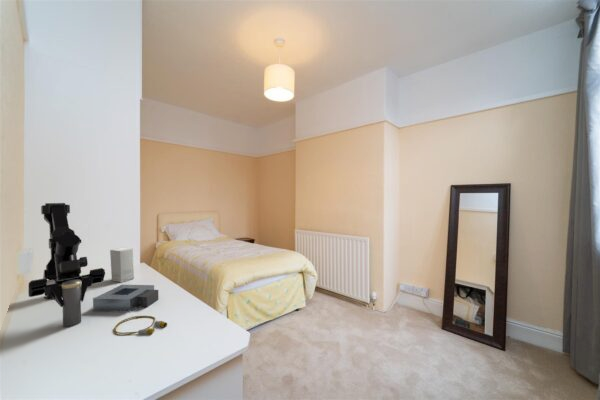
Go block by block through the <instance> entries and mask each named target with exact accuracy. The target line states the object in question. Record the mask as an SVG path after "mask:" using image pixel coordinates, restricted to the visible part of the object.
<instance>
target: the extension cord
mask: <svg viewBox="0 0 600 400" xmlns="http://www.w3.org/2000/svg"><path fill="white" fill-rule="evenodd" d="M141 318H142V319H143V318H147V319H153V321H152V323H151V325H149V326H147V327H145V328H142V329H139V330H138V331H129V332H128V331H127V332H121V331H120V332H119V331H117V328H118V327H119V326H120V325H121V324H123V323H125V322H128V321H131V320H134V319H141ZM153 325H155V326H157V327H158V328H163V329H165V327H167V326H168V323H167V322H165V321H163V320H156V317H155V316H152V315H136V316H131V317H128V318H125V319H123V320H121V321H119V322H118V323H116V325H115V326H114V329H113V331H114V333H115V335H117V336H128V335H132V334H138V335H153V334H154V332H155V331H156V330H155V328H153V327H152V326H153ZM151 327H152V328H151Z"/></svg>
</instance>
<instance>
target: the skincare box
mask: <svg viewBox="0 0 600 400" xmlns="http://www.w3.org/2000/svg"><path fill="white" fill-rule="evenodd" d="M133 250H134V249H133V248H132V247H123V246H122V247H119V248H112V249H110V250H109V251H110V252H109V254H110V272H111V273H110V274H111V281H113V282H118V283H124V282H128V281H131V280H134V279H135V272H134V271H135V270H134V269H135V268H134V251H133Z"/></svg>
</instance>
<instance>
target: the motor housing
mask: <svg viewBox="0 0 600 400" xmlns="http://www.w3.org/2000/svg"><path fill="white" fill-rule="evenodd" d="M157 301H159V289H155V285H154V284H120V285H118V286H115V287H114V288H112V289H110V290H108V291H106V292H104V293H102V294H99V295H97V296H95V297H93V298H92V309H93V312H130V313H131V311H133V310H135V309H136V308H148V307H150V306H151V305H153V304H154V303H156V302H157Z"/></svg>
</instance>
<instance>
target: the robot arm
mask: <svg viewBox="0 0 600 400" xmlns="http://www.w3.org/2000/svg"><path fill="white" fill-rule="evenodd" d="M40 214H41V215H43V219H44V221H45V222H46V223H47V224H48V225H49V226H48V227H49V239H48V249H50V259H49V260H48V262H47V264H46V266H45V269H43V276H42V277H43V278H39V279H34V280H30V281H29V282H28V290H27V291H28V297H29V298H32V297H38V296H41V295H44V296H43V297H42V299H48V300H49V299H53V300H54V301H55V302H56V304H58V305H59V306H60V308H63V300H62V283H63V282H66V281H69V280H81V285H80V286H81V303H83V302H84V299H85V295H86V292H87V289H88V288H89V287H91V286H92V285H93V284H98V283H102V282H104V278H105V277H106V271H105V269H104V268H103V267H100V268H94V269H90V270H89V273H88V274H83V275H81V274H82V268H85V267H88V265H89V263H88V256H80V257H79V258H78V257H77V253H78V251H79V246H80V245H81V244H82V239H81V238H80V236H78V235H77V234H75V230H73V229H71V228H70V226H69V220H68V214H71V205H70V204H66V202H53V203H52V202H51V203H50V202H45V203H44V204H43V205H41V206H40Z"/></svg>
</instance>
